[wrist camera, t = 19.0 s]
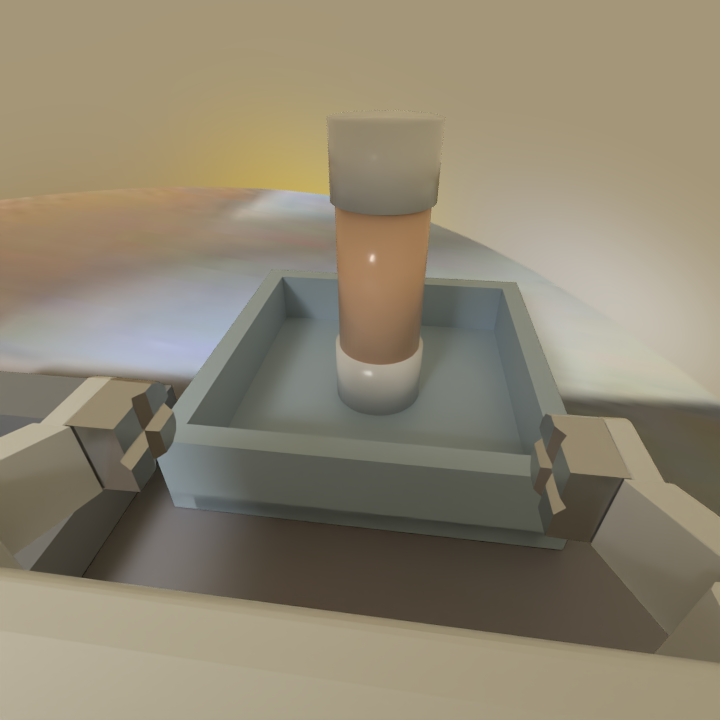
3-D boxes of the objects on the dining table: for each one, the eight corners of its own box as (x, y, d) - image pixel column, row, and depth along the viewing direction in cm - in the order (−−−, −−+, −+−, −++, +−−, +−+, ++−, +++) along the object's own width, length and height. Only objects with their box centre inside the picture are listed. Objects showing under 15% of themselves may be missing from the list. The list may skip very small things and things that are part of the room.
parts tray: (504, 336, 30) (516, 282, 28) (562, 549, 17) (593, 482, 15) (278, 321, 32) (271, 269, 30) (174, 506, 19) (149, 439, 17)
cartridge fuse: (419, 367, 26) (443, 111, 18) (417, 419, 22) (447, 125, 14) (344, 362, 26) (337, 109, 18) (330, 411, 22) (316, 123, 15)
